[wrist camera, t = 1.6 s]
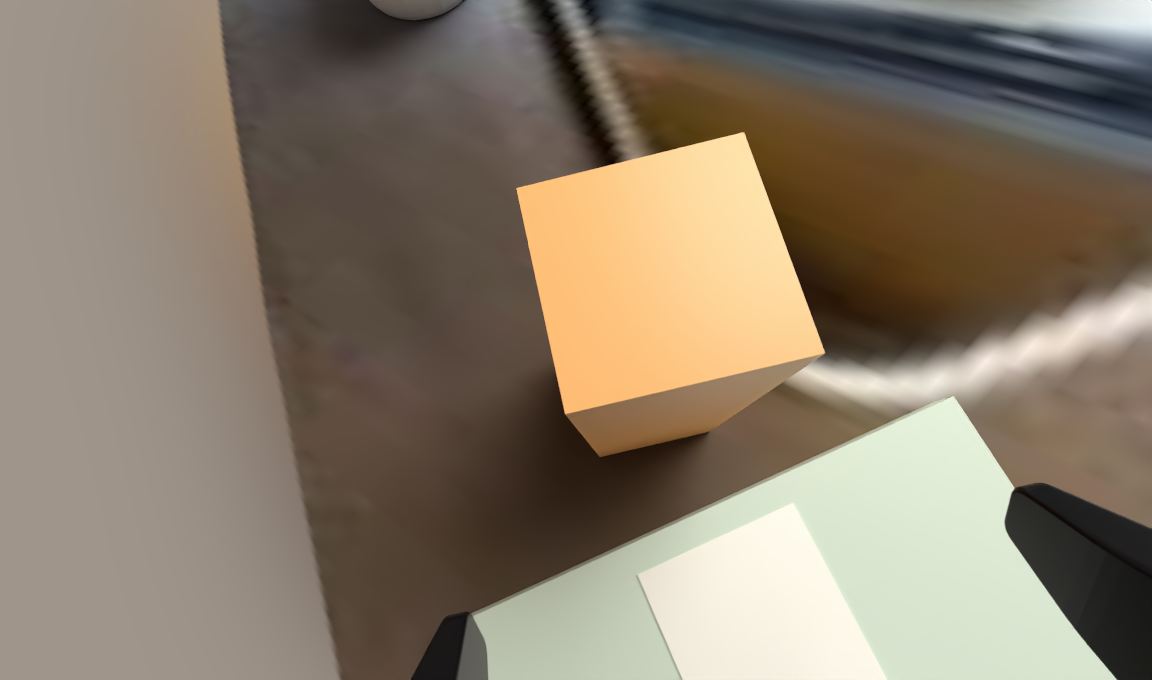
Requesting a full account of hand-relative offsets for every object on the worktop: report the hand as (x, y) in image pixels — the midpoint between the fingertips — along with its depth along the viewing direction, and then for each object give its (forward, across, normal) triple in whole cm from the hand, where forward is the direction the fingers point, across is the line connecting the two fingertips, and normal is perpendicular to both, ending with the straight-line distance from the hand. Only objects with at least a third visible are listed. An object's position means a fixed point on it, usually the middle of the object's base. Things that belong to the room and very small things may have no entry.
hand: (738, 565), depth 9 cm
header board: (+5, -2, +12) cm, 13 cm away
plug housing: (+12, 0, +5) cm, 13 cm away
